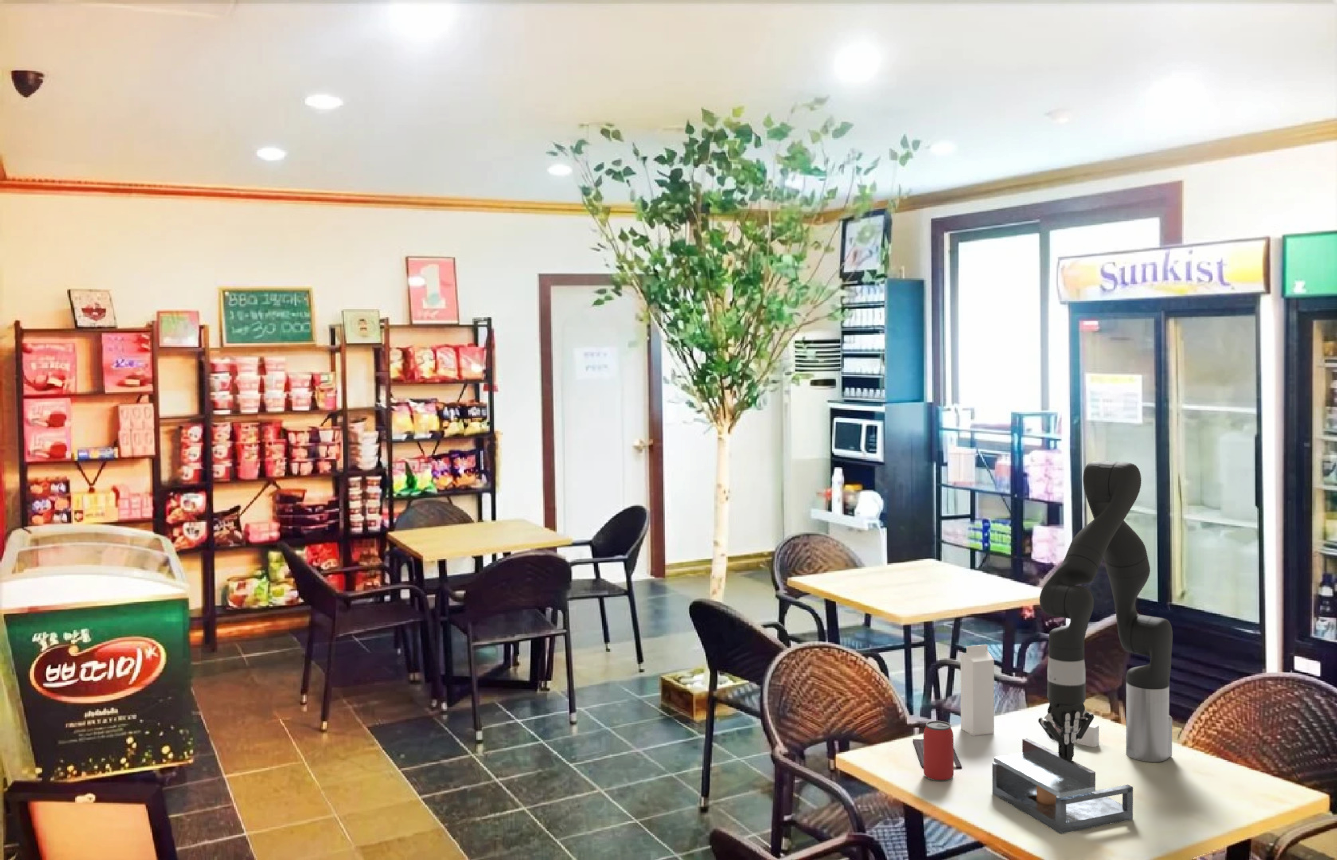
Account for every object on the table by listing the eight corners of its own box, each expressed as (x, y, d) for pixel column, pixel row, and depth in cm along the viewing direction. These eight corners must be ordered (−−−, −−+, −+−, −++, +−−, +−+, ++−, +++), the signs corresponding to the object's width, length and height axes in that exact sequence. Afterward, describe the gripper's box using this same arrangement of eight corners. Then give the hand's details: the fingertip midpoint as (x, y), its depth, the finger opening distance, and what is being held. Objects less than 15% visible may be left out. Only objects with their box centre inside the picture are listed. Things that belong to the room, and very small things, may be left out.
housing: (1060, 781, 247) (1060, 751, 246) (1132, 819, 226) (1133, 787, 226) (992, 794, 241) (992, 763, 240) (1060, 834, 220) (1060, 800, 220)
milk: (994, 733, 279) (994, 647, 277) (972, 736, 277) (973, 649, 275) (981, 726, 285) (981, 641, 283) (960, 728, 283) (960, 643, 281)
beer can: (954, 782, 247) (954, 730, 247) (924, 781, 249) (923, 728, 248) (952, 772, 254) (952, 720, 253) (923, 770, 255) (923, 719, 254)
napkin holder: (1040, 733, 279) (1040, 711, 279) (1083, 731, 280) (1083, 709, 280) (1066, 755, 264) (1066, 731, 264) (1112, 752, 265) (1112, 729, 265)
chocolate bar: (950, 739, 274) (961, 766, 256) (950, 743, 274) (961, 770, 256) (912, 739, 274) (922, 766, 257) (912, 743, 275) (922, 770, 257)
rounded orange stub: (1048, 804, 235) (1048, 776, 235) (1060, 811, 231) (1060, 783, 231) (1032, 807, 234) (1032, 779, 233) (1045, 814, 230) (1045, 786, 229)
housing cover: (1026, 756, 243) (1026, 738, 243) (1095, 791, 223) (1095, 772, 223) (993, 761, 240) (993, 743, 240) (1060, 798, 220) (1060, 778, 220)
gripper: (1052, 687, 226) (1052, 770, 227) (1104, 679, 231) (1104, 761, 232) (1028, 677, 233) (1028, 758, 235) (1079, 670, 238) (1079, 749, 239)
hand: (1066, 759), depth 233 cm, fingers closed
